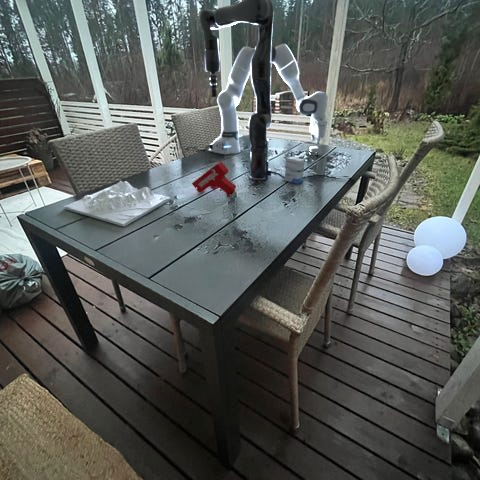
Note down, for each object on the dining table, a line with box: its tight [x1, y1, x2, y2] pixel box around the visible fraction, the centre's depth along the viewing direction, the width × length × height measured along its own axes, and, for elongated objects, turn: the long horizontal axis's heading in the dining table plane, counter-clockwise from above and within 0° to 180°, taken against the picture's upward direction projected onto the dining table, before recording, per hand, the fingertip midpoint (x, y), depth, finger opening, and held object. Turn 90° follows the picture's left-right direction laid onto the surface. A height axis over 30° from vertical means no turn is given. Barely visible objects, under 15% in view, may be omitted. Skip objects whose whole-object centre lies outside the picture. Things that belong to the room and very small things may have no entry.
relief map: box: [63, 179, 171, 227], centre depth 119 cm, size 27×35×5 cm
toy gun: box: [191, 161, 237, 197], centre depth 128 cm, size 18×4×15 cm
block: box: [308, 145, 319, 156], centre depth 186 cm, size 4×5×5 cm
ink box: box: [284, 156, 306, 185], centre depth 140 cm, size 8×5×12 cm, turn 47°
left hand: (315, 142), depth 183 cm, fingers open, 8 cm apart
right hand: (214, 96), depth 148 cm, fingers open, 8 cm apart
